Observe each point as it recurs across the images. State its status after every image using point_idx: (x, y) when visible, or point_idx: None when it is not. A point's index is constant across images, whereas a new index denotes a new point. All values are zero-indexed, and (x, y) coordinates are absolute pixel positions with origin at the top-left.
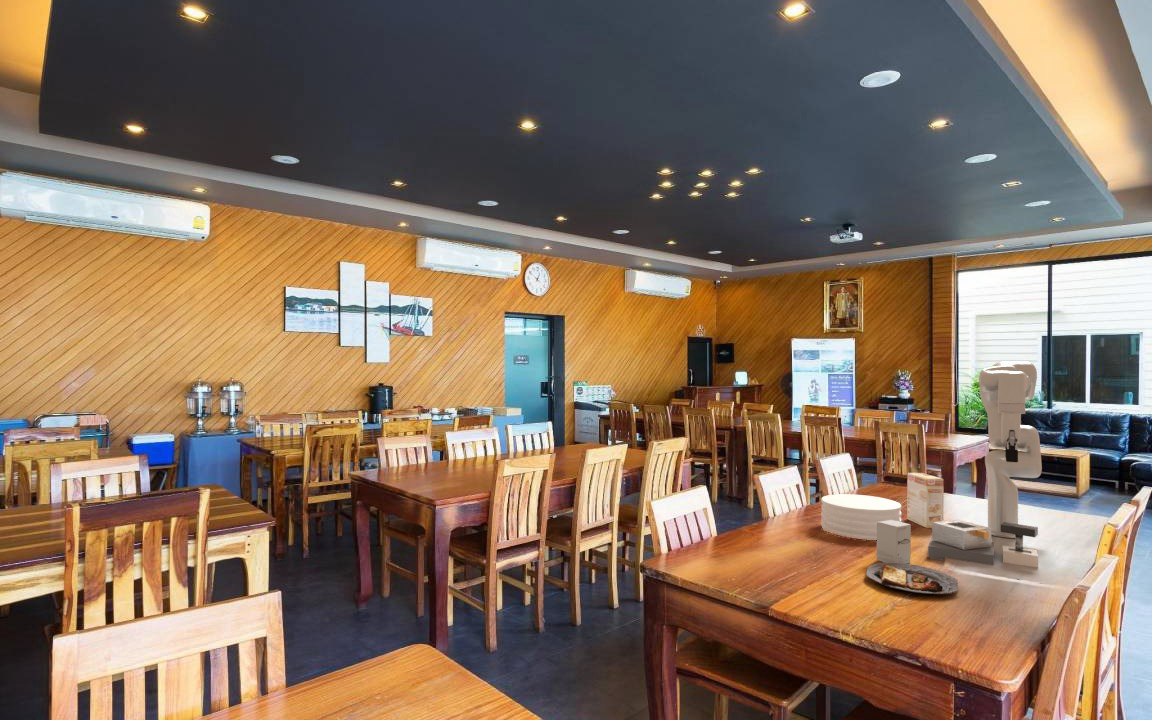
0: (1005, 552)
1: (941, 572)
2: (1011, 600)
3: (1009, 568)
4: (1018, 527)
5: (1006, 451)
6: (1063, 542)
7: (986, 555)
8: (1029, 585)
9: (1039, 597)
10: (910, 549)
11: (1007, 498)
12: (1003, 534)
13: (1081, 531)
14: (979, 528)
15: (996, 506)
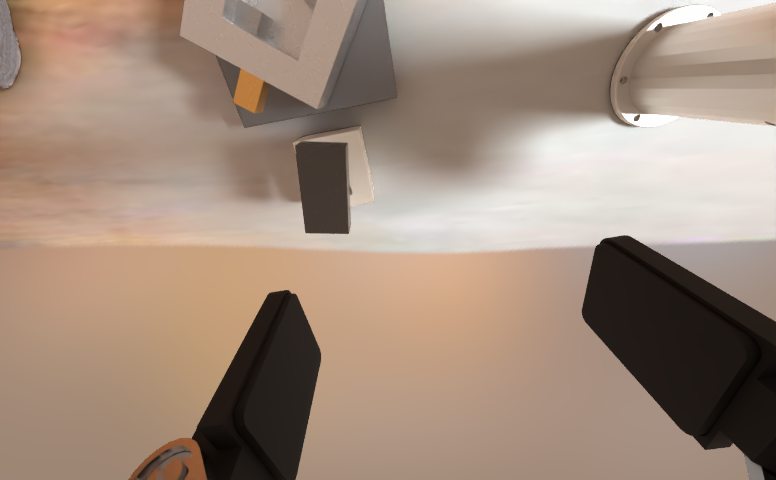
0: (294, 147)
1: (10, 32)
2: (64, 193)
3: (288, 152)
4: (301, 194)
5: (217, 397)
6: (621, 207)
7: (239, 109)
8: (196, 202)
9: (138, 225)
10: None
11: (757, 93)
12: (618, 82)
13: (760, 223)
14: (276, 74)
15: (730, 48)
